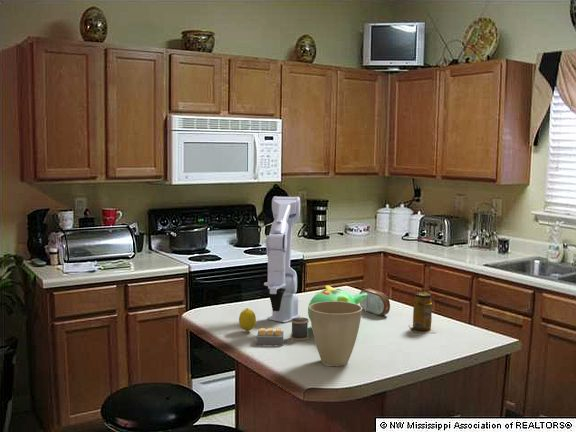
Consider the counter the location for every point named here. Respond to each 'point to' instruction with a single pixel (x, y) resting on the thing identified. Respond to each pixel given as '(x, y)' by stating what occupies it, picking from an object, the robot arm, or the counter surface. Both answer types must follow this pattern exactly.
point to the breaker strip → (270, 337)
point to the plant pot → (335, 330)
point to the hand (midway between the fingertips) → (276, 310)
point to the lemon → (247, 320)
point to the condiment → (422, 313)
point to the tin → (375, 302)
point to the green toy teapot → (336, 297)
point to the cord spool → (299, 328)
